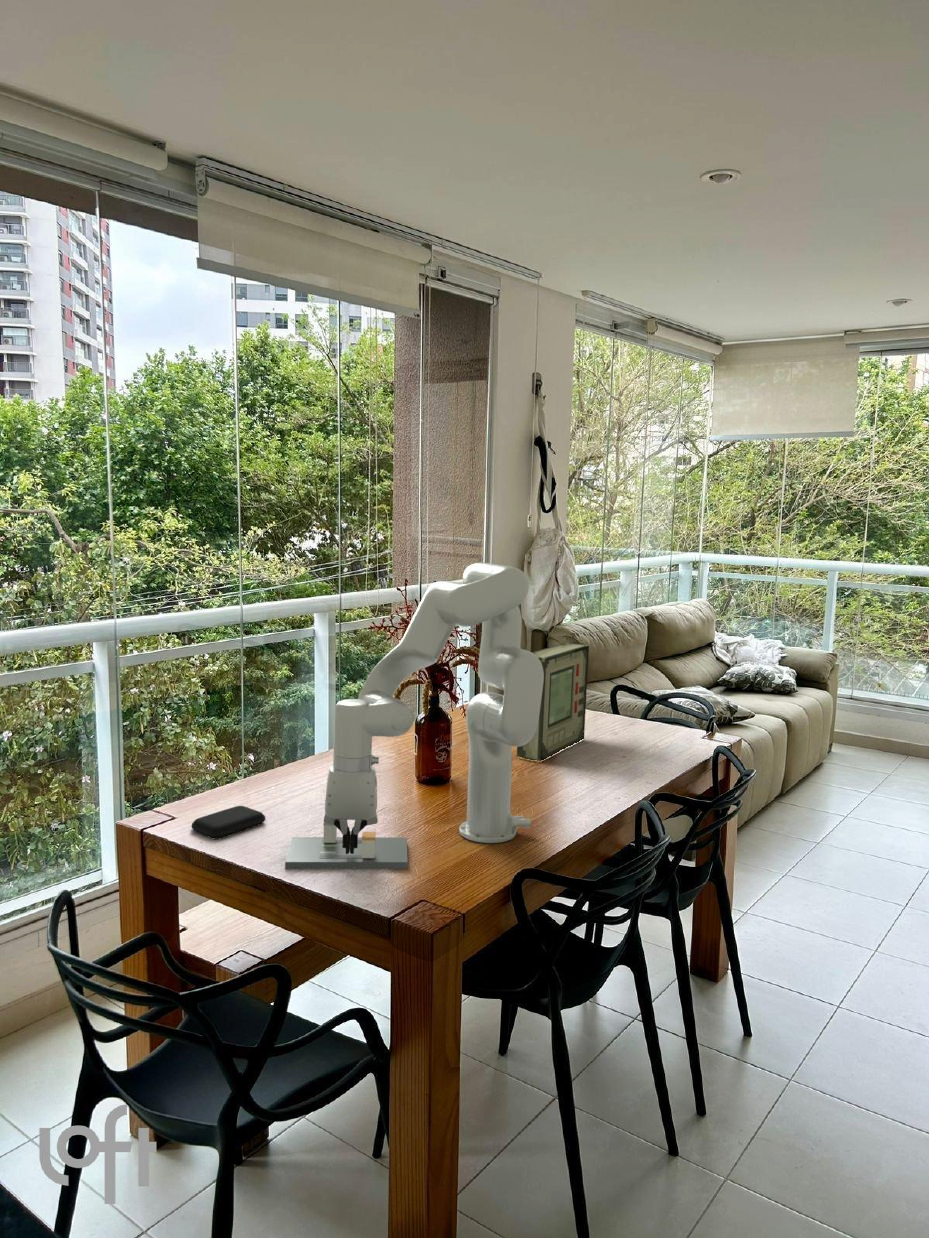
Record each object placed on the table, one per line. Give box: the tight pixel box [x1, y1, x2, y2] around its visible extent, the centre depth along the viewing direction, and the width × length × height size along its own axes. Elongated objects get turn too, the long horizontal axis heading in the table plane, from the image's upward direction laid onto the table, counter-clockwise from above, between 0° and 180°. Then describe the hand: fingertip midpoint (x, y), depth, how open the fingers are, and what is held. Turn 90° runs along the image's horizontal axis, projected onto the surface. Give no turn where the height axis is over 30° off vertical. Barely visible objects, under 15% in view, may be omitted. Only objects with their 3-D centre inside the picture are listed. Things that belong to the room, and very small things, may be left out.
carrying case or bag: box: [191, 805, 266, 840], centre depth 199 cm, size 11×3×15 cm
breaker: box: [323, 822, 338, 843], centre depth 188 cm, size 3×3×4 cm
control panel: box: [516, 642, 590, 761], centre depth 268 cm, size 30×8×30 cm, turn 148°
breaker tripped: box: [361, 831, 377, 858], centre depth 181 cm, size 3×3×4 cm
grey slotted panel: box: [284, 836, 408, 870], centre depth 185 cm, size 24×13×2 cm, turn 94°
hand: (349, 851), depth 181 cm, fingers closed
